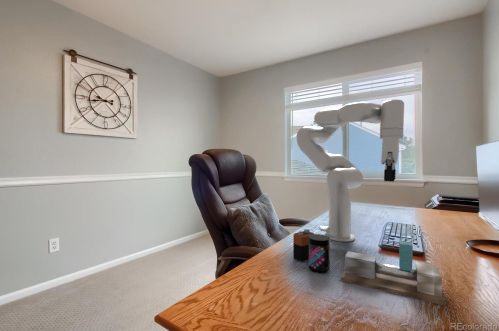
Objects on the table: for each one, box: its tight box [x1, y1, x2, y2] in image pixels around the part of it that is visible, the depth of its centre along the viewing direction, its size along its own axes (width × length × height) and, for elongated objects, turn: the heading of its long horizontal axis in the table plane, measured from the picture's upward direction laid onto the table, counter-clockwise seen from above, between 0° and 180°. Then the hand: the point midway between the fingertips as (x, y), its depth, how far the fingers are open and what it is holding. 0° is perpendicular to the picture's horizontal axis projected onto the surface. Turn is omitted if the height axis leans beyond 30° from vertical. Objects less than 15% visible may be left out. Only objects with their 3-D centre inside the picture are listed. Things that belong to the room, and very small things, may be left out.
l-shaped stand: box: [375, 240, 417, 282], centre depth 69 cm, size 16×3×10 cm, turn 59°
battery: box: [292, 228, 315, 263], centre depth 87 cm, size 4×7×10 cm, turn 127°
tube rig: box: [340, 250, 447, 306], centre depth 70 cm, size 24×12×6 cm, turn 59°
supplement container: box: [307, 233, 331, 274], centre depth 78 cm, size 7×7×10 cm
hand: (389, 180), depth 91 cm, fingers open, 9 cm apart
